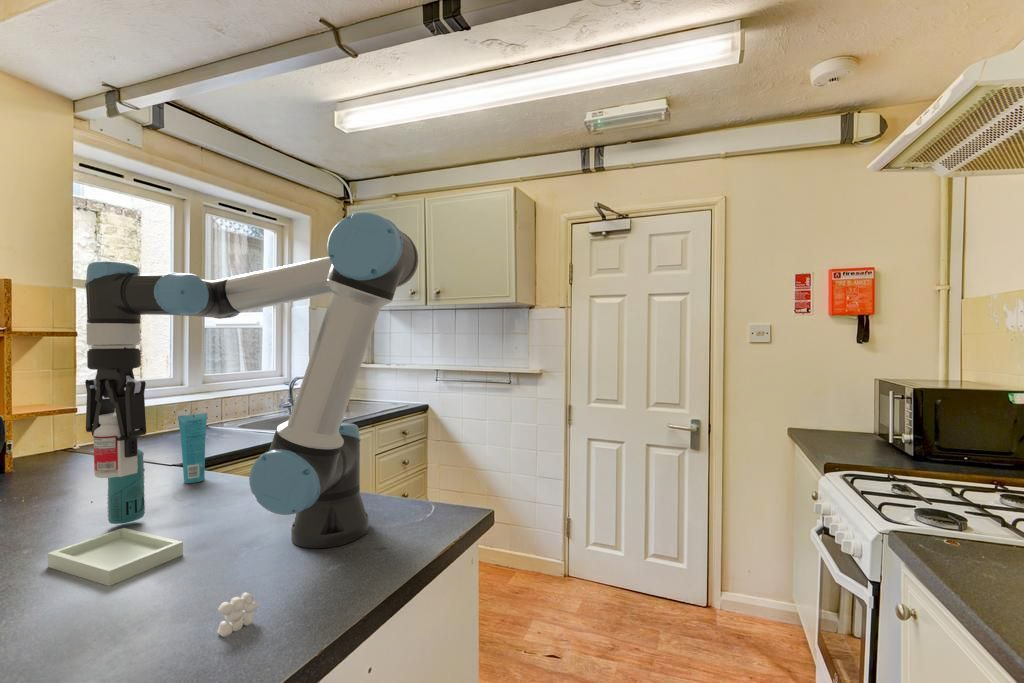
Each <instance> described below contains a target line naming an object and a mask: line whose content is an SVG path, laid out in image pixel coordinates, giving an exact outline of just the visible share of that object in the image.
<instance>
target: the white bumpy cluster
mask: <svg viewBox="0 0 1024 683" xmlns="http://www.w3.org/2000/svg"><path fill="white" fill-rule="evenodd" d="M258 609H259V604H258V603H257V602H255V601H254V595H252V594H251V593H249V592H246V591H245V592H243V593H242V594H241V596H240V597H239V596H235V597H232V598H231V599H230V602H228V601H224V602H221V604H220V605H219V607H218V608H217V611H218V612H220V613H221V614H223V615H224V616H223V617H224V619H225V620H222V621H219V622H220V623H219V625H218V628H217V632H216V633H217V634H218V635H220V636H221V637H223V638H226V637H229V636H230V635H232V634H233V632H238V631H240V630H242V628H243V626H250V625H252V624H253V622H254V618H255V617H254V612H256V611H258Z"/></svg>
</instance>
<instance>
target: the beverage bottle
mask: <svg viewBox="0 0 1024 683" xmlns="http://www.w3.org/2000/svg"><path fill="white" fill-rule="evenodd" d="M144 454H145V452H144V451H143V450H141V449H139V448H138V469H137V473H134V474H130V475H126V476H122V477H112V478H107V503H106V504H107V520H108V522H109V524H113V525H119V524H121V525H122V524H127V523H130V522H135V521H138V520H140V519H142V518H144V516H145V513H146V505H145V503H146V501H145V490H146V488H145V472H146V470H145V469H146V468H145V462H144Z"/></svg>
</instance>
